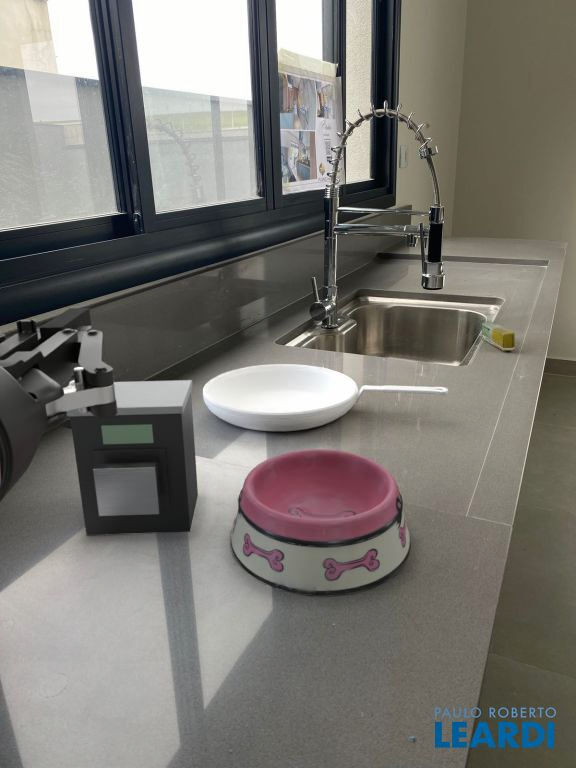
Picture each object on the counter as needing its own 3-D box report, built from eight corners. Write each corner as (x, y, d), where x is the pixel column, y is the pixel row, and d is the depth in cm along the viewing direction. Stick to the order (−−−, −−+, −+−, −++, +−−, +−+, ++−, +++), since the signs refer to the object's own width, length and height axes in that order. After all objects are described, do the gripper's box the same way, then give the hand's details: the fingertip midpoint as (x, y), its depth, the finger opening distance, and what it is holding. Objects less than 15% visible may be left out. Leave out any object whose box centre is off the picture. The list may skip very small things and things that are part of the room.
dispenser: (191, 533, 64) (182, 406, 59) (83, 537, 64) (65, 409, 59) (200, 494, 72) (192, 379, 68) (103, 497, 72) (89, 382, 67)
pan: (224, 382, 112) (223, 360, 111) (439, 389, 107) (440, 366, 106) (183, 435, 89) (181, 408, 87) (455, 448, 83) (458, 419, 82)
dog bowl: (412, 606, 53) (417, 538, 50) (207, 585, 56) (203, 520, 53) (409, 501, 70) (412, 447, 68) (252, 490, 73) (250, 438, 71)
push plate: (159, 514, 60) (155, 467, 59) (98, 516, 60) (92, 469, 59) (161, 508, 62) (157, 461, 60) (101, 510, 61) (96, 463, 60)
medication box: (481, 339, 140) (480, 322, 139) (492, 337, 141) (492, 321, 139) (503, 351, 129) (503, 333, 128) (515, 350, 129) (515, 331, 128)
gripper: (-230, 545, 25) (3, 374, 47) (87, 534, 25) (170, 370, 48) (-287, 372, 23) (-13, 278, 45) (64, 363, 23) (162, 274, 45)
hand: (81, 325), depth 46 cm, fingers closed
